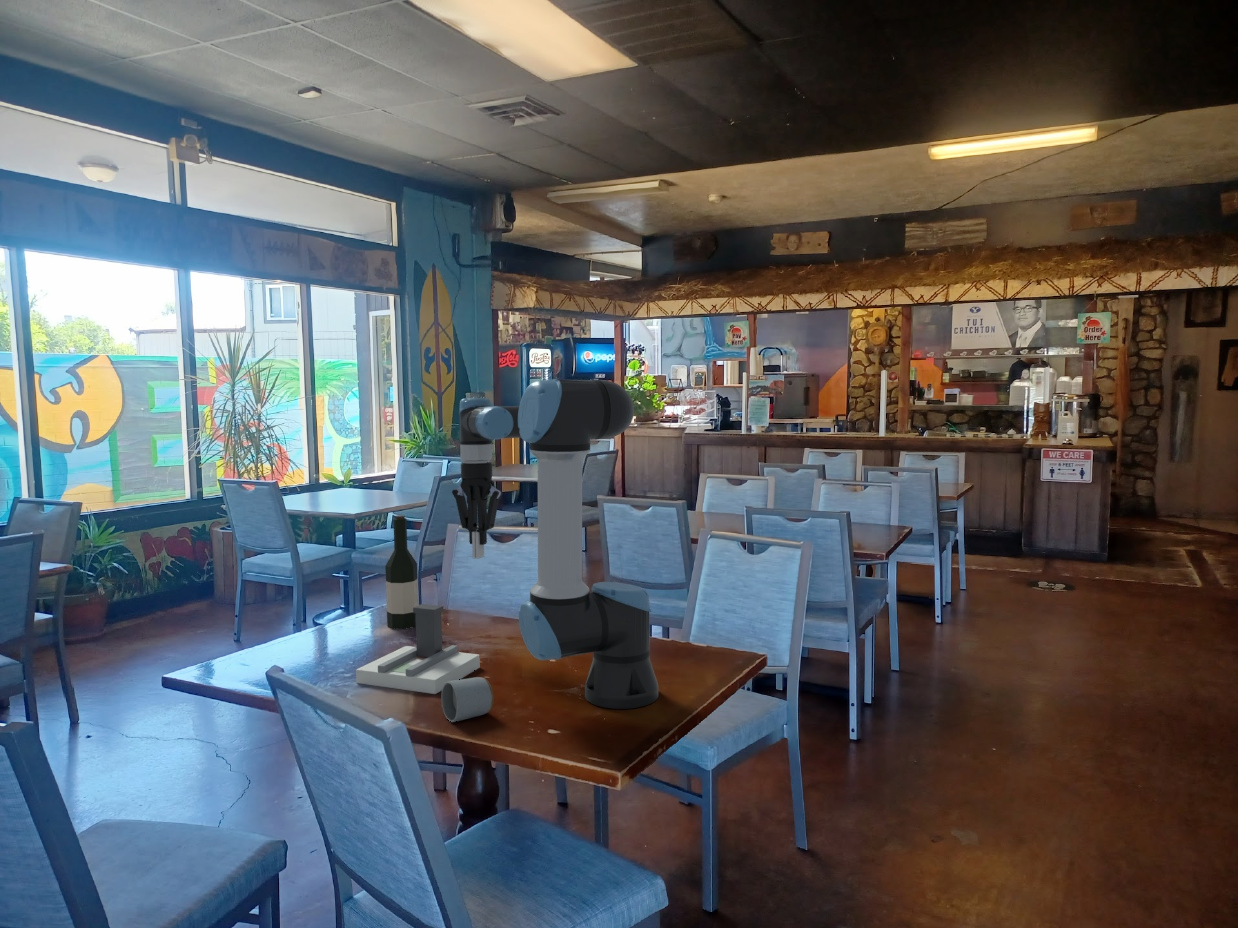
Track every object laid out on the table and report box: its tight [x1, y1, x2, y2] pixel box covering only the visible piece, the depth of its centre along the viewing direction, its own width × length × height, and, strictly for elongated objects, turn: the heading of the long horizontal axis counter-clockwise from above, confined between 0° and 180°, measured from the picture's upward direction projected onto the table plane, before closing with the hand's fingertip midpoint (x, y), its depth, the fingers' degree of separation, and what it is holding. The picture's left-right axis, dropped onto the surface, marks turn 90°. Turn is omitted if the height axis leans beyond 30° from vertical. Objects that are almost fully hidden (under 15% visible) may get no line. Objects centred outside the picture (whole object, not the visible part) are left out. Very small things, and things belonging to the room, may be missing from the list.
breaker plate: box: [355, 644, 481, 695], centre depth 184 cm, size 20×18×4 cm
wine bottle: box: [385, 514, 419, 630], centre depth 224 cm, size 8×8×30 cm
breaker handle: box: [413, 603, 444, 657], centre depth 187 cm, size 6×4×11 cm, turn 69°
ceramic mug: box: [440, 676, 494, 723], centre depth 161 cm, size 11×8×8 cm
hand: (478, 557), depth 203 cm, fingers closed
